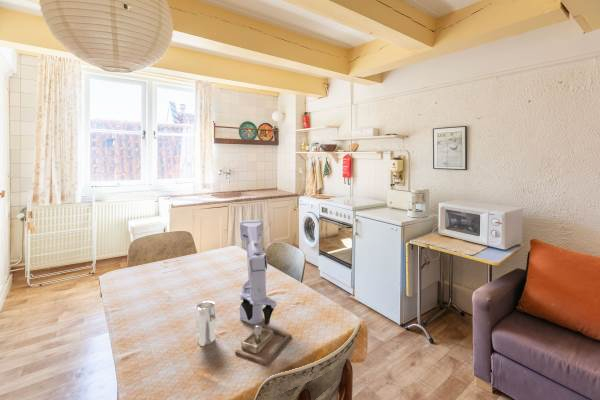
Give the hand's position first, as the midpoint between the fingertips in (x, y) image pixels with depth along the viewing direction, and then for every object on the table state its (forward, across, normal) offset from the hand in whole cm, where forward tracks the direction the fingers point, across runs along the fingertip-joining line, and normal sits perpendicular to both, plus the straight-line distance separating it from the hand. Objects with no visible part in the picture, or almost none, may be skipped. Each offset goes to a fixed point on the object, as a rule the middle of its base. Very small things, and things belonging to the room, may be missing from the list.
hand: (258, 321), depth 111 cm
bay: (+9, +3, -1) cm, 10 cm away
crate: (+8, 0, -1) cm, 8 cm away
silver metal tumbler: (+10, -18, -8) cm, 22 cm away
